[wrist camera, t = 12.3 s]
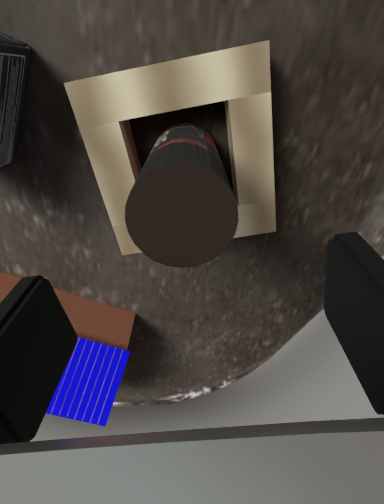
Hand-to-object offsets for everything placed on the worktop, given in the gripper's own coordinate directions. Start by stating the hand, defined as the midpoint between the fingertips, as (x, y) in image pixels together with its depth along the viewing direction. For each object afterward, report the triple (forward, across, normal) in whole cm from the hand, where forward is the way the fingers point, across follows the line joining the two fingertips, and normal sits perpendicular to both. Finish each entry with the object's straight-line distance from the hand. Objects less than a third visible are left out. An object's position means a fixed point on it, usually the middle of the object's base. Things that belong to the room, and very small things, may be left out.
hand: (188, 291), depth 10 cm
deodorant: (+22, +1, 0) cm, 22 cm away
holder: (+21, +1, 0) cm, 21 cm away
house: (+21, +22, +18) cm, 36 cm away
